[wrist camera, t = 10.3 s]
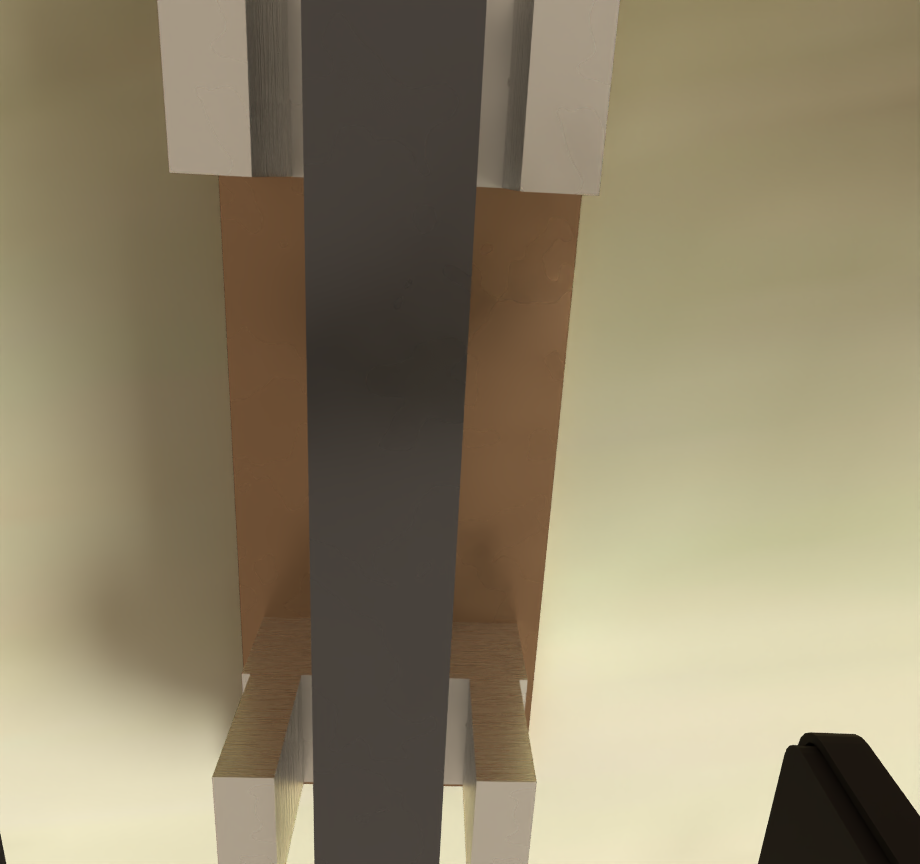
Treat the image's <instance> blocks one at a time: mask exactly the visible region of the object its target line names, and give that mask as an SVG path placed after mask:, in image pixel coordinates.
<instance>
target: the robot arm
mask: <svg viewBox="0 0 920 864" xmlns="http://www.w3.org/2000/svg"><path fill="white" fill-rule="evenodd" d="M0 864H6V860H5V855H4V850H3V845H2V840H1V835H0ZM758 864H920V816H919V814H918V813H917V812H916V810H915V809H914V807H913V806H912V805H911V803H910V802H909V800H908V799H907V798H906V796H905V795H904V793H903V792H902V791H901V789H900V788H899V787H898V785H897V784H896V782H895V781H894V780H893V778H892V777H891V775H890V774H889V773H888V771H887V770H886V768H885V767H884V766H883V764H882V763H881V761H880V760H879V759H878V757H877V756H876V755H875V753H874V752H873V750H872V749H871V748H870V746H869V745H868V744H867V743H866V741H865V740H864V739H863V738H862V737H860V736H858V735H856V734H836V733H805V734H804V735H803V736H802V737H801V739H800V741H799V744H798V745H791V746H789V747H788V748H787V749H786V752H785V755H784V759H783V763H782V767H781V771H780V775H779V779H778V784H777V788H776V792H775V796H774V800H773V804H772V808H771V812H770V817H769V821H768V825H767V829H766V833H765V837H764V841H763V845H762V849H761V854H760V858H759V862H758Z"/></svg>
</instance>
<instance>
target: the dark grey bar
mask: <svg viewBox="0 0 920 864" xmlns="http://www.w3.org/2000/svg"><path fill="white" fill-rule="evenodd" d="M486 7H487V0H301V47H302V110H303V172H304V234H305V297H306V359H307V421H308V484H309V546H310V609H311V671H312V733H313V796H314V858H315V864H439V857H440V839H441V821H442V803H443V785H444V767H445V749H446V731H447V713H448V694H449V676H450V658H451V640H452V622H453V604H454V586H455V568H456V550H457V532H458V513H459V495H460V477H461V459H462V441H463V423H464V405H465V387H466V369H467V351H468V333H469V314H470V296H471V278H472V260H473V242H474V224H475V206H476V188H477V170H478V152H479V133H480V115H481V97H482V79H483V61H484V43H485V25H486Z"/></svg>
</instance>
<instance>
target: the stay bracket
mask: <svg viewBox="0 0 920 864" xmlns="http://www.w3.org/2000/svg"><path fill="white" fill-rule="evenodd" d="M157 4H158V18H159V33H160V47H161V61H162V75H163V89H164V103H165V117H166V132H167V146H168V160H169V173H186V174H204V175H219V192H220V212H221V232H222V252H223V271H224V291H225V311H226V331H227V351H228V370H229V390H230V410H231V430H232V450H233V469H234V489H235V509H236V529H237V549H238V568H239V588H240V608H241V628H242V648H243V667H244V669H243V672H242V689H243V695H242V698H241V700H240V703H239V706H238V708H237V711H236V714H235V717H234V719H233V722H232V725H231V727H230V730H229V733H228V735H227V738H226V741H225V744H224V746H223V749H222V752H221V754H220V757H219V760H218V763H217V765H216V768H215V771H214V773H213V776H212V783H213V797H214V811H215V825H216V839H217V853H218V864H286V861H287V857H288V852H289V848H290V843H291V838H292V834H293V829H294V824H295V820H296V815H297V810H298V806H299V801H300V797H301V792H302V787H303V784H313V733H312V671H311V609H310V546H309V484H308V421H307V359H306V297H305V234H304V172H303V110H302V47H301V0H157ZM619 4H620V0H487V7H486V25H485V43H484V61H483V79H482V97H481V115H480V133H479V152H478V170H477V188H476V206H475V224H474V242H473V260H472V278H471V296H470V314H469V333H468V351H467V369H466V387H465V405H464V423H463V441H462V459H461V477H460V495H459V513H458V532H457V550H456V568H455V586H454V604H453V622H452V640H451V658H450V676H449V694H448V713H447V731H446V749H445V767H444V785H443V786H463V804H464V826H465V848H466V864H528V858H529V849H530V839H531V830H532V821H533V811H534V802H535V792H536V783H537V782H536V776H535V770H534V764H533V758H532V752H531V746H530V740H529V734H528V731H529V721H530V711H531V701H532V691H533V681H534V671H535V660H536V650H537V640H538V630H539V620H540V610H541V600H542V590H543V580H544V570H545V560H546V550H547V540H548V530H549V520H550V510H551V499H552V489H553V479H554V469H555V459H556V449H557V439H558V429H559V419H560V409H561V399H562V389H563V379H564V369H565V359H566V349H567V338H568V328H569V318H570V308H571V298H572V288H573V278H574V268H575V258H576V248H577V238H578V228H579V218H580V208H581V198H582V195H596V196H599V192H600V183H601V173H602V164H603V154H604V145H605V136H606V126H607V117H608V107H609V98H610V89H611V79H612V70H613V61H614V51H615V42H616V32H617V23H618V14H619Z"/></svg>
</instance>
